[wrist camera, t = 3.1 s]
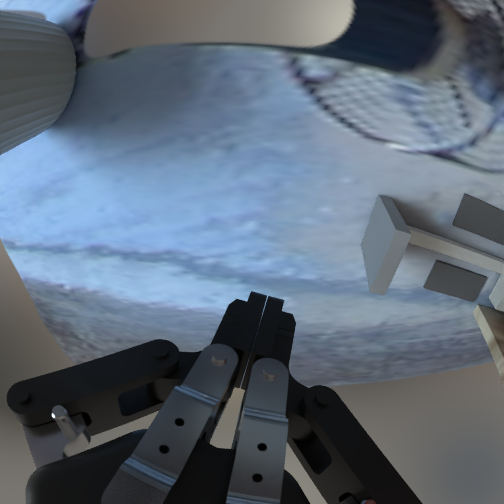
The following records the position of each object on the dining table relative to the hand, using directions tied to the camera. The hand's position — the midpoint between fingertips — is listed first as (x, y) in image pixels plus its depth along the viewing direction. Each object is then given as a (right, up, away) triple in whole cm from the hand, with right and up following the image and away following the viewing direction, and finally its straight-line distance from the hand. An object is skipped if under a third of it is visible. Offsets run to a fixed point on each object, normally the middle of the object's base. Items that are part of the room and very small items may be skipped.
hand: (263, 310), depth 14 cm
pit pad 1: (+22, +6, +10) cm, 25 cm away
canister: (-24, +23, +12) cm, 36 cm away
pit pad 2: (+21, 0, +14) cm, 25 cm away
